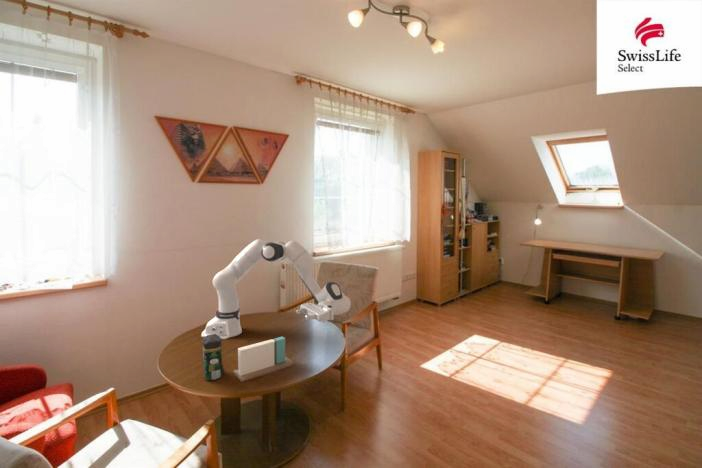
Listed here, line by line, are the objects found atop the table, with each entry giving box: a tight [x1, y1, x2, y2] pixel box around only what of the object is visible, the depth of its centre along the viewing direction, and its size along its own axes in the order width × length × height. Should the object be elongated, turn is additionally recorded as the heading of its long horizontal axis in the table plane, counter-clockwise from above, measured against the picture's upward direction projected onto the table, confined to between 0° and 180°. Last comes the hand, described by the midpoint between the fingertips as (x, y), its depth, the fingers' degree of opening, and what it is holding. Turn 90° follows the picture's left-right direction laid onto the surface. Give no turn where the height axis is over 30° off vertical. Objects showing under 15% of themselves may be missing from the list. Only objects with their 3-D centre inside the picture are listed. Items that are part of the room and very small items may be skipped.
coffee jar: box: [202, 334, 223, 381], centre depth 156 cm, size 10×8×19 cm
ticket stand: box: [233, 338, 295, 383], centre depth 164 cm, size 26×10×13 cm, turn 128°
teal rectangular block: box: [273, 336, 286, 364], centre depth 168 cm, size 5×3×12 cm, turn 127°
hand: (301, 314), depth 174 cm, fingers open, 8 cm apart
